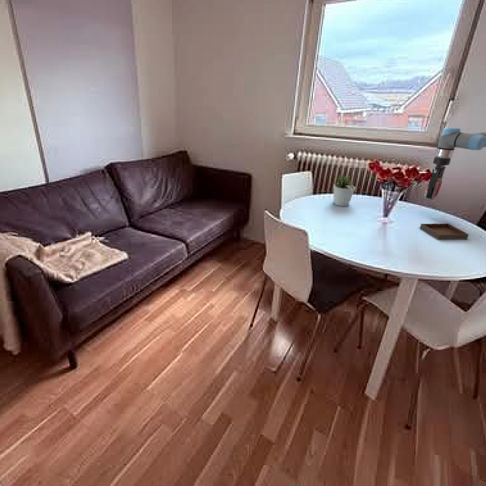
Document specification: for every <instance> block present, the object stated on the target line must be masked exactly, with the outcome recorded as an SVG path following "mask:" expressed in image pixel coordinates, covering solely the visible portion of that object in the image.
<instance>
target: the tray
mask: <svg viewBox="0 0 486 486" xmlns="http://www.w3.org/2000/svg"><path fill="white" fill-rule="evenodd" d="M419 229H420V230H422V231H423V232H425V233H426V234H428V235H430V236H431V237H433V238H435V239H436V240H438V241H439V240H467V239H468V238H469V235H470V234H469V233H467V232H465V231H464V230H462V229H460V228H458V227H456V226H454V225H452V224H451V223H447V222H446V223H445V222H444V223H443V222H441V223H440V222H439V223H420V226H419Z"/></svg>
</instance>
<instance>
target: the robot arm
mask: <svg viewBox="0 0 486 486" xmlns="http://www.w3.org/2000/svg"><path fill="white" fill-rule="evenodd" d="M455 148H458V149H465V150H470V151H480V150H483V148H486V131H483V132H477V133H474V132H473V133H469V132H461V128H460V127H455V126H454V127H453V126H452V127H449V126H447V127H444V128H443V129H442V132H441V135H440V137H439V140H438V144H437V148H436V150H435V155H434V158H433V161H432V164H434V165H435V166H434V168H433V169H432V171H431V175H432V178H431V177H430V178H431V179H430V178H429V180H430V181H429V180H428V182H429V184H428V183H427V185H428V186H427V185H426V188H427V187H429V188H428V191H427V194H426V198H428V199H427V200H430V199H431V198H432V195H433V192H434V189H435V188H434V187H435V184H436V182H437V179H438V178H441V179H442V180H443V177H444V173H445V170H446V168H447V167H446V166H449V165H450V163H451V160H452V157H453V155H454V152H455ZM426 198H425V199H426Z"/></svg>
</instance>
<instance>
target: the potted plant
mask: <svg viewBox="0 0 486 486" xmlns="http://www.w3.org/2000/svg"><path fill="white" fill-rule="evenodd" d="M350 177H351V175H350V174H349V175H348V176H347V175H345V174H340V175H338V178H337V177H336V179H337V180H336V183H335V182H333V181H331V183H332V185H333V204H334V205H336V206H340V207H347V206H349V204H350V202H351V200H352V197H353V195H354V192H355V191H356V186H354V184H355V182H354V181H351V179H350Z"/></svg>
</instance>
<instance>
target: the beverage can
mask: <svg viewBox="0 0 486 486" xmlns="http://www.w3.org/2000/svg"><path fill="white" fill-rule="evenodd" d="M429 181H430V179H428V182H427V185H426V189H425V191H424V194H423V198H425V199H427V200H430V201H431V200H432V201H434V200H437V199H438V196H439V193H440V190H441V186H442V183H443V178H442V179H441V178H438V179H437V182H436V184H435V187H434V188H435V189H434V192H433V195H432V198H431V199H428V198H426V194H427V191H428V188H429V187H427V186H428V184H429Z"/></svg>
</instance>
